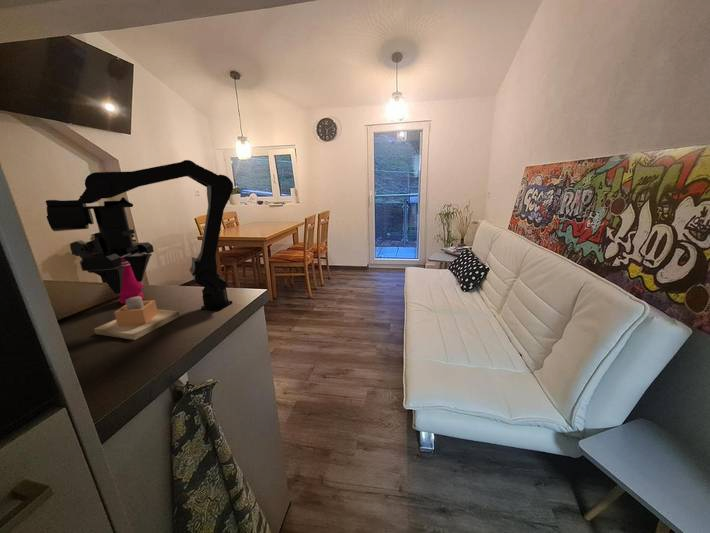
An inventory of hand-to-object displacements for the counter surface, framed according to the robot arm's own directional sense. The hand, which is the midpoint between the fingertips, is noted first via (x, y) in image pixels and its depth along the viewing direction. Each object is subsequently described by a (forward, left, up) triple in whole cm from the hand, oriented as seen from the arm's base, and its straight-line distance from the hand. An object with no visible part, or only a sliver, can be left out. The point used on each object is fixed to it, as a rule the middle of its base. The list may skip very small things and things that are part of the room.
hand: (129, 287), depth 72 cm
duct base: (0, 0, -11) cm, 11 cm away
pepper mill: (-13, -20, -11) cm, 26 cm away
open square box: (0, 0, -9) cm, 9 cm away
